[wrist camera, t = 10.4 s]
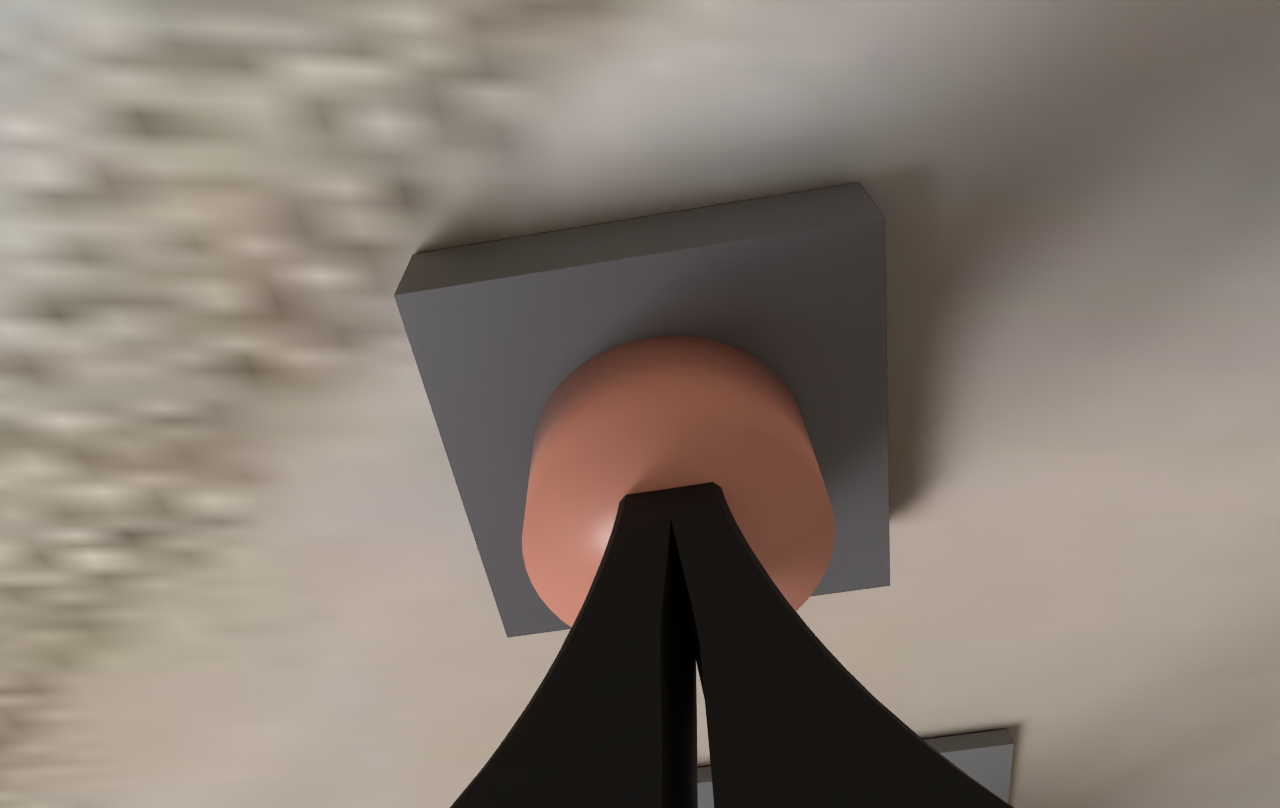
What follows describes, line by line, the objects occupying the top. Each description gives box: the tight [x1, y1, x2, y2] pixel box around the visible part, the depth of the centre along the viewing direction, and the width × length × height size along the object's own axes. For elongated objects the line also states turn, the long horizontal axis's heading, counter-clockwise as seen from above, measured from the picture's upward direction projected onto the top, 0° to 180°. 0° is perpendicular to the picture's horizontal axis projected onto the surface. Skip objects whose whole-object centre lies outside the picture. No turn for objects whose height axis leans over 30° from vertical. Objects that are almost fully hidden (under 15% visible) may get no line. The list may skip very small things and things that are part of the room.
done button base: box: [394, 182, 890, 637], centre depth 15 cm, size 7×7×2 cm
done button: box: [522, 336, 835, 628], centre depth 14 cm, size 4×4×2 cm
